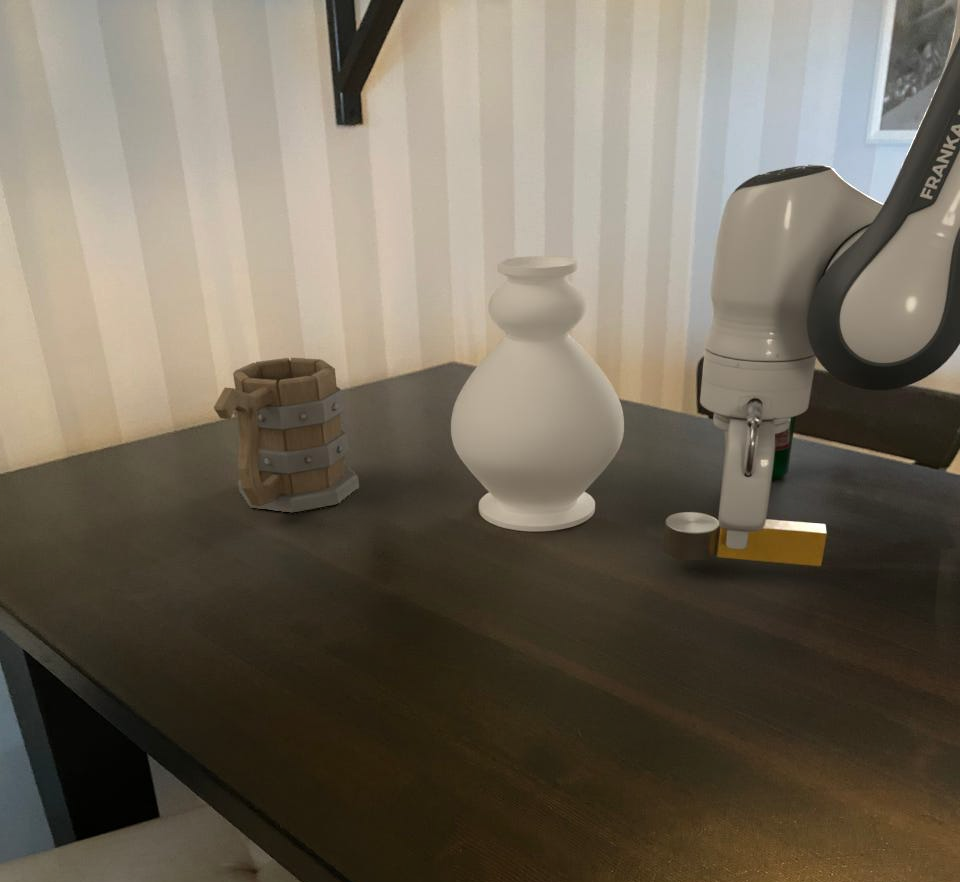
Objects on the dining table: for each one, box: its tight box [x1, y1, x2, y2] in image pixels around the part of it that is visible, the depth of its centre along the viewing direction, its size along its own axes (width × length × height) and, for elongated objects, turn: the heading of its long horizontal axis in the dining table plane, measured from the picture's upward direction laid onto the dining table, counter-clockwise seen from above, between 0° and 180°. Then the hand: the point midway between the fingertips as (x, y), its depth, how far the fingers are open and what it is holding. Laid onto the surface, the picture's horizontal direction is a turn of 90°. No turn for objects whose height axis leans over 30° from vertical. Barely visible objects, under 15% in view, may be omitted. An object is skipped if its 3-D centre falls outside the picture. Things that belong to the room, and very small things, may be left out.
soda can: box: [771, 416, 797, 482], centre depth 105 cm, size 5×5×12 cm
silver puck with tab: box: [662, 511, 828, 567], centre depth 84 cm, size 14×5×3 cm, turn 75°
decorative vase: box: [450, 255, 625, 533], centre depth 94 cm, size 18×18×25 cm
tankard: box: [213, 357, 360, 513], centre depth 100 cm, size 20×13×15 cm, turn 161°
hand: (736, 537), depth 84 cm, fingers closed on silver puck with tab, 2 cm apart
